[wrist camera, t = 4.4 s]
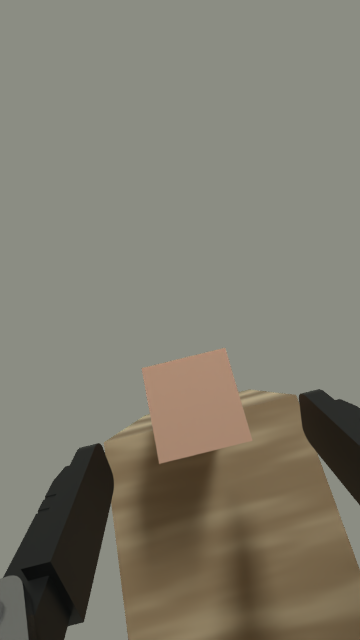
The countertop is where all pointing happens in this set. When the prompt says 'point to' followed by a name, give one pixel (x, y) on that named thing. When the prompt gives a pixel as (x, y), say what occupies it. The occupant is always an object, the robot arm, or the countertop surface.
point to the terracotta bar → (194, 406)
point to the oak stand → (233, 536)
